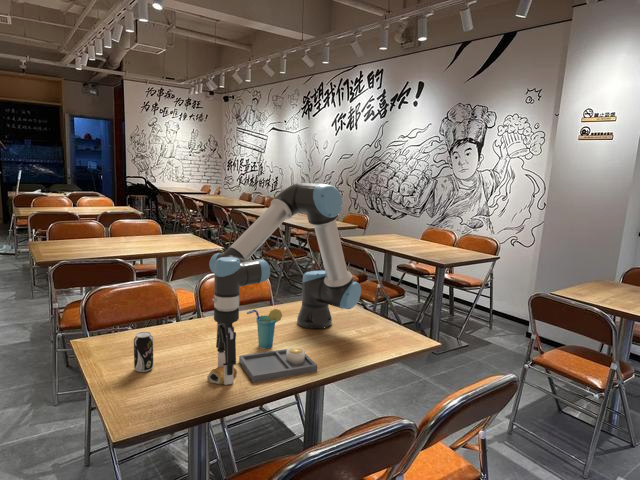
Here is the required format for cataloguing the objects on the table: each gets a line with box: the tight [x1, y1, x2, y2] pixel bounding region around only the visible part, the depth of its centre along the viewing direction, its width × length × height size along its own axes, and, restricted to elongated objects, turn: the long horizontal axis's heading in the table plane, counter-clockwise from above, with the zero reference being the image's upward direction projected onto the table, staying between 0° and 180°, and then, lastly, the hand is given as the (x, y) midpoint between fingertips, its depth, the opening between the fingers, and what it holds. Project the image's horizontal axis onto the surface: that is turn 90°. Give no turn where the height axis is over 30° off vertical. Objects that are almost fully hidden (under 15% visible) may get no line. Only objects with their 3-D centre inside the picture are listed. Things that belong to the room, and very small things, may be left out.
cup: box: [246, 308, 283, 350], centre depth 164 cm, size 14×8×15 cm, turn 125°
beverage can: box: [133, 331, 154, 373], centre depth 142 cm, size 6×6×12 cm
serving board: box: [238, 346, 318, 383], centre depth 149 cm, size 16×22×5 cm
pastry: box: [206, 366, 238, 385], centre depth 139 cm, size 9×7×4 cm
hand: (225, 377), depth 139 cm, fingers open, 8 cm apart
